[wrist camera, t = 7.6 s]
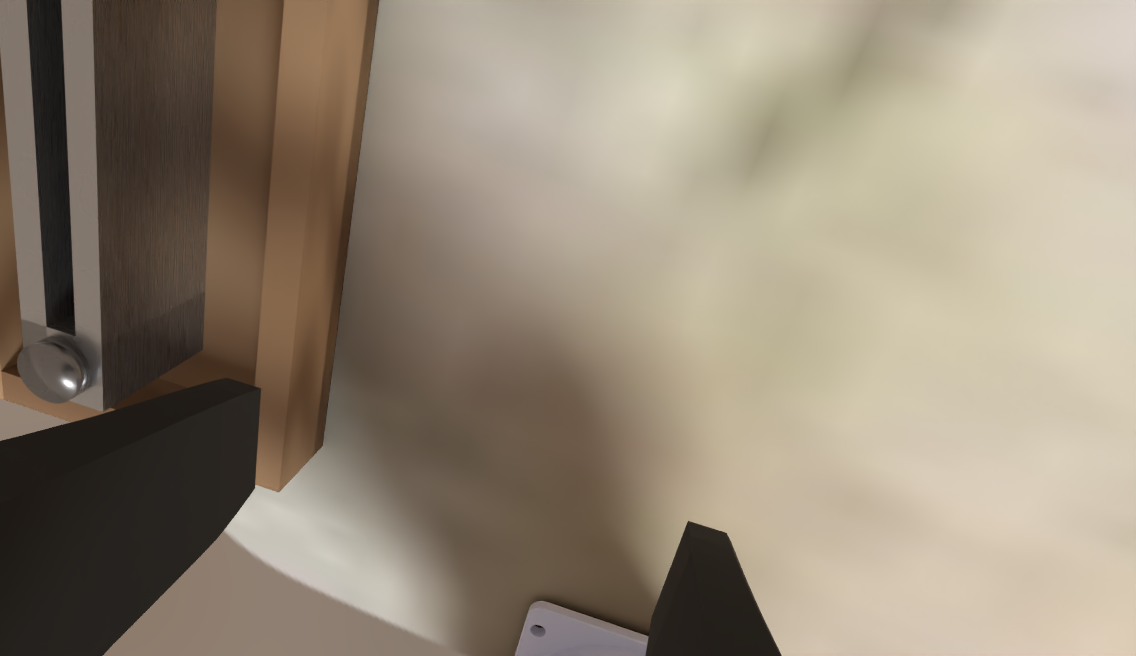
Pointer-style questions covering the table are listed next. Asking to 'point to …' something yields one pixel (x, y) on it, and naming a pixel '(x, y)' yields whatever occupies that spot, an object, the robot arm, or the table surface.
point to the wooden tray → (258, 220)
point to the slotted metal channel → (108, 188)
